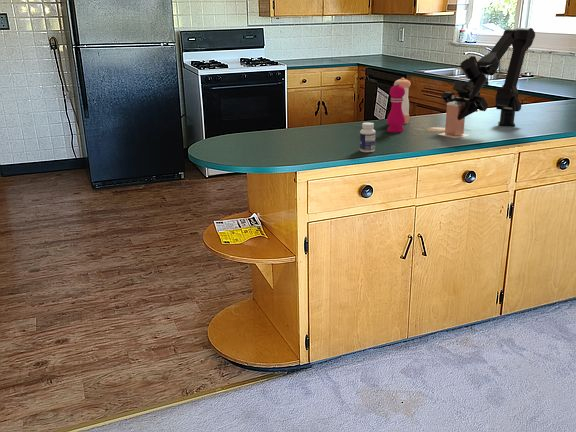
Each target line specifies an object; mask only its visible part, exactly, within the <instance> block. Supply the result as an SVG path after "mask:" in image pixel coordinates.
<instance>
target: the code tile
mask: <svg viewBox="0 0 576 432" xmlns="http://www.w3.org/2000/svg"><path fill="white" fill-rule="evenodd" d="M437 135H438V136H439V135H440V136H443V137H448V138H452V139H453V138H454V139H458V138H462V137H468V136H469V134H468V133H464V134H462V135H457V136H453V135H448V134H445V132H444V133H437Z"/></svg>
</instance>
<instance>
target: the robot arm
mask: <svg viewBox="0 0 576 432" xmlns="http://www.w3.org/2000/svg"><path fill="white" fill-rule="evenodd" d="M502 33H503V34H502V36H501V37H500V38H499V39H498V41H497V42H496V43H495V44H494V46H493V47H492V49H491V50H490V51H489V52H488V54H485V55H484V56H482V57H481V58H480V59H479V60H478V59H477V58H476V55H475V56H473V55H470V56H469V57H468V58H466V59H464V60H463V61H461V62H460V64H459V68H460V69H461V70H462V73H463V75H465V76H464V77H466V79H468V81H467V82H466V81H458V80H454V84H453V87H452V90H453V91H455V92H456V94H457V96H455V94H454V92H451V91H450V92H449V91H444V92H443V93H442V94H441V99H442V101H443V102H444V103H445V105H446V106H447V103H448V102H455V101H457V102H464V103H465V107H464V109H463V110H462V112H461V113H460V115H459V117H458V120H461V119H463V118H464V117H465V118H466V117H468V116H469V115H472V114H474V113H476V112H478V111H480V112H481V111H482V112H486V111H487V109H488V108H489V107H488V106H489V105H488V102H487V100H486V99H485V97H484V96H481V93H480V91H481V90H482V88H483V87H484V86H488V85H489V78H487V77H486V76H494V75H495V74H496V73H497V71H498V70H499V69H498V68H499V67H500V61H501V60H502V58H503V56H504V55H505V53H506V52H507V51H508V49H510V47H511V46H512V53H511V57H510V60H509V64H508V68H507V72H506V75H505V80H504V83H503V85H502V86H501V87H498V88H497V89H496V94H495V100H494V101H495V108H496V110H500V113H499V114H500V115H499V121H497V124H498V126H507V127H508V126H510V127H511V126H512V127H515V126H516V124H515V117H516V115H515V114H516V112H519V111H521V109H522V103H521V102H520V100H519V90H518V88H517V86H518V82H519V78H520V75H521V72H522V66H523V64H524V60H525V55H526V52H527V51H528V50H529V48H531V46H532V45H533V43H534V40H535V37H536V31H534V29H533V28H531V27H517V28H506V29H505V30H504V31H503V32H502Z"/></svg>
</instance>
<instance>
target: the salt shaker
mask: <svg viewBox="0 0 576 432" xmlns="http://www.w3.org/2000/svg"><path fill="white" fill-rule="evenodd" d="M397 81H399V82H400V86H402V87H404V89H405V94H404V96H403V97H402V98H403V102H402V111H403V114H404V117H405V123H404V124H403V125H405V124H409V123H410V114H409V112H410V111H409V110H410V101H409V88H411V80H408V79H406V78H405V77H401V78H400V79H397V80H395V81H394V83H393V86H395V85H396V82H397Z"/></svg>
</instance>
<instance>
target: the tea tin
mask: <svg viewBox="0 0 576 432" xmlns="http://www.w3.org/2000/svg"><path fill="white" fill-rule="evenodd" d="M464 107H465V103H464V102H457V101H455V102H448V103H447V105H446V114H445V126H444V128H445V132H444V133H445V134H448V135H453V136H457V135H462V134H465V133H464V132H465V131H464V130H465V121H466V117H464V118H463V119H461V120H458V117H459V115H460V113H461V112H462V110H463V109H464Z"/></svg>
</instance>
